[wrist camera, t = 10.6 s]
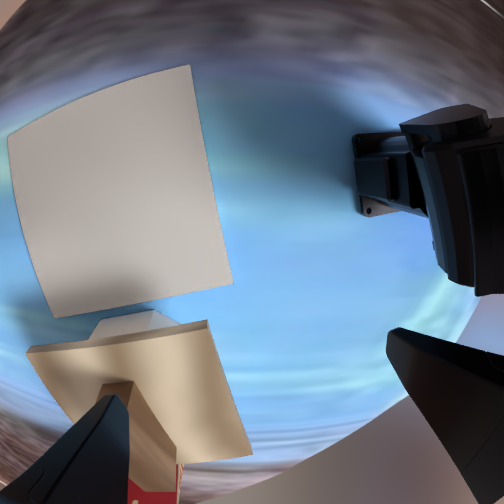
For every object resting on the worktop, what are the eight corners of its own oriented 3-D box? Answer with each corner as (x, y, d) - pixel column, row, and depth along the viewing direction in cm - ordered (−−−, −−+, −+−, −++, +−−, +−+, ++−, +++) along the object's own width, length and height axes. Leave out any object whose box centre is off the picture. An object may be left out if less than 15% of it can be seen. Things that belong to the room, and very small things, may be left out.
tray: (190, 66, 16) (190, 64, 15) (232, 280, 21) (233, 283, 20) (10, 137, 14) (7, 137, 14) (56, 315, 19) (54, 318, 19)
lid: (207, 319, 16) (208, 383, 10) (251, 446, 20) (261, 495, 15) (31, 346, 14) (-3, 391, 9) (112, 456, 19) (104, 499, 13)
